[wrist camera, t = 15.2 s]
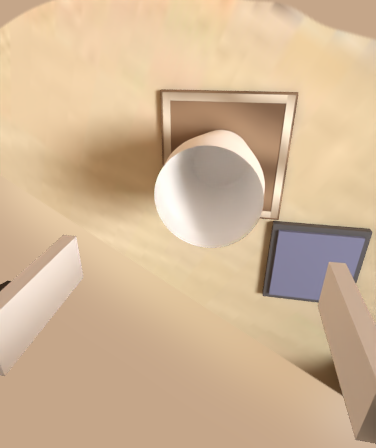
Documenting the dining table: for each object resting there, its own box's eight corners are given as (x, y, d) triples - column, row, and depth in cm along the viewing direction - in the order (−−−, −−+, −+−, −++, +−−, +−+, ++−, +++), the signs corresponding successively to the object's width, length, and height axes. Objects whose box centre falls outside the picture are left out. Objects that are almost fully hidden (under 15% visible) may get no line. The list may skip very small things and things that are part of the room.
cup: (278, 163, 34) (291, 207, 23) (217, 211, 38) (204, 267, 27) (224, 99, 32) (210, 115, 22) (165, 156, 36) (130, 194, 25)
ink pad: (347, 301, 41) (349, 308, 40) (262, 292, 43) (263, 297, 42) (369, 228, 36) (373, 233, 35) (273, 220, 38) (273, 225, 37)
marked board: (278, 217, 38) (278, 220, 37) (165, 208, 40) (164, 210, 39) (297, 92, 31) (298, 92, 31) (162, 89, 33) (160, 89, 33)
